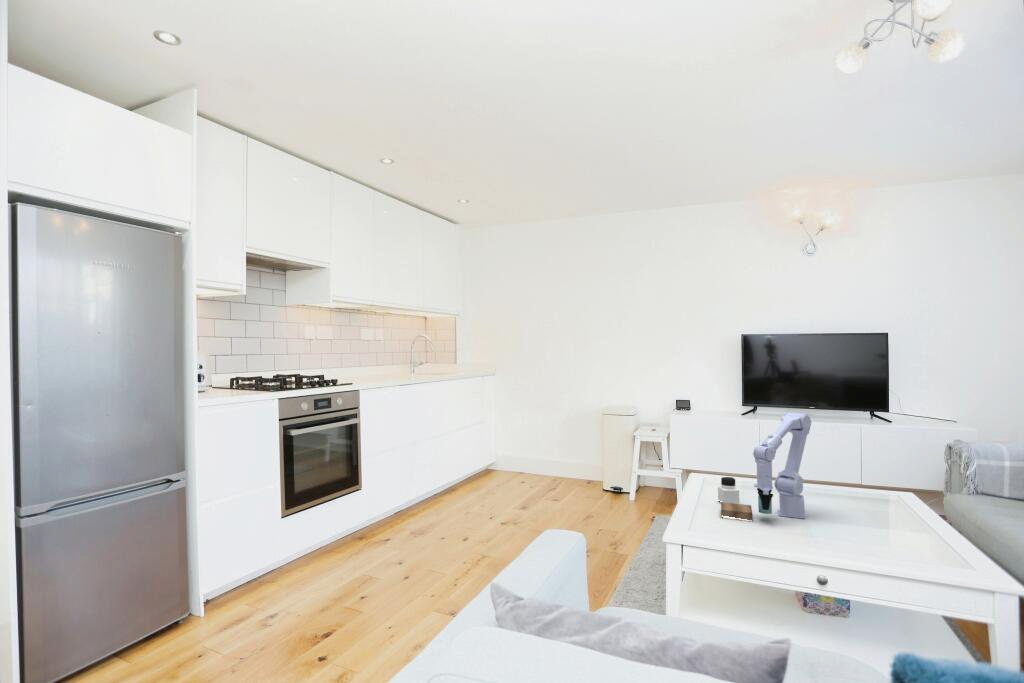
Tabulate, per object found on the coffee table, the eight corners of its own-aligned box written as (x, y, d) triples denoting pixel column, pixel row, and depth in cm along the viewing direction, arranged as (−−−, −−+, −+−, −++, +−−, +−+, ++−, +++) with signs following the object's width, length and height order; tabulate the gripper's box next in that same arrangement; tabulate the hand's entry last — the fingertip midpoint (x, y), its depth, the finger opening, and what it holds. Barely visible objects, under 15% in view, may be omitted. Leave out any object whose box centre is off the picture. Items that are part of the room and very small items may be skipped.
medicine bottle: (739, 505, 235) (739, 479, 236) (723, 505, 235) (723, 479, 236) (733, 501, 242) (732, 475, 243) (717, 501, 242) (717, 475, 243)
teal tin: (771, 511, 216) (771, 495, 216) (772, 514, 211) (772, 498, 211) (758, 509, 217) (757, 494, 218) (758, 513, 213) (758, 497, 213)
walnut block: (751, 514, 223) (751, 505, 223) (752, 522, 212) (752, 512, 212) (721, 511, 228) (721, 502, 228) (721, 519, 217) (721, 509, 217)
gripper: (753, 470, 223) (753, 502, 222) (754, 478, 209) (755, 511, 209) (771, 472, 220) (771, 504, 220) (774, 479, 207) (774, 513, 206)
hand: (765, 507), depth 214 cm, fingers closed on teal tin, 5 cm apart
